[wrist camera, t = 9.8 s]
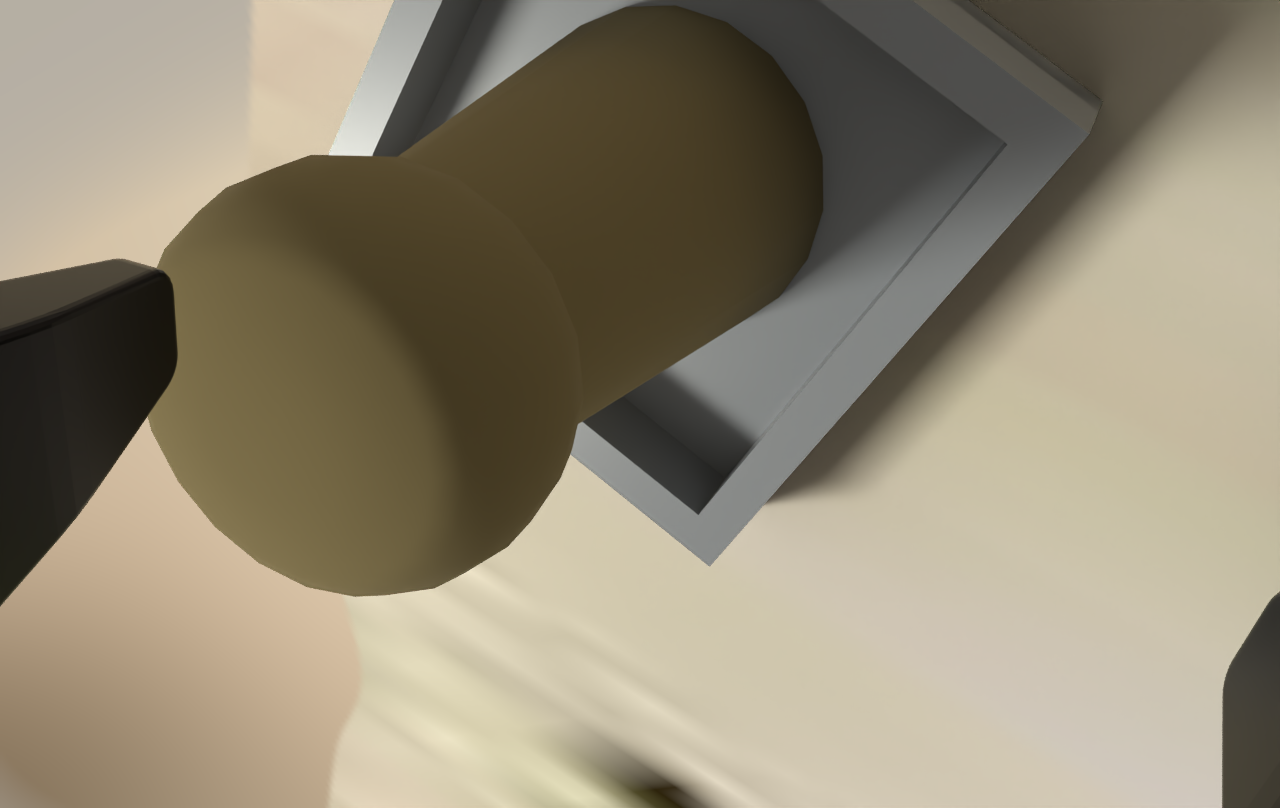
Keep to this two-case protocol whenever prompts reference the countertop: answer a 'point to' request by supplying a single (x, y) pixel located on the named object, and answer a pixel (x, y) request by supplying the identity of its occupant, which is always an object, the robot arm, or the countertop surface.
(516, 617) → the countertop surface
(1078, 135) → the grey tray
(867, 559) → the countertop surface
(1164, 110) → the countertop surface
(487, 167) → the cork
